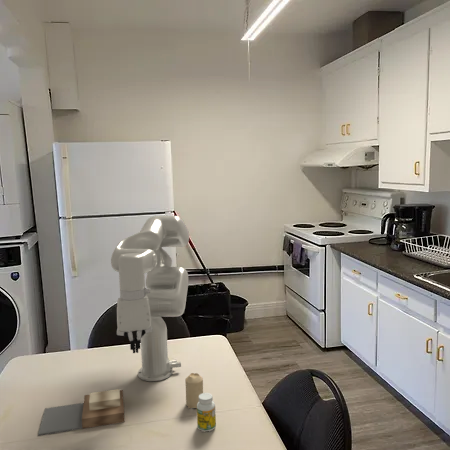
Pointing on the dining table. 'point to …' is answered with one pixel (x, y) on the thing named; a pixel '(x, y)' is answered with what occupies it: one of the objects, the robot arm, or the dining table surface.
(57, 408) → the mat
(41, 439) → the dining table surface
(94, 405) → the tile
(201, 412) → the supplement bottle
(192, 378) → the candle
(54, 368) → the dining table surface
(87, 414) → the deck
